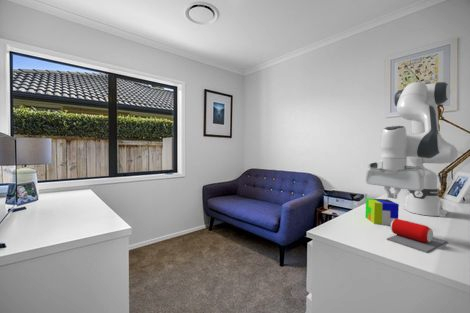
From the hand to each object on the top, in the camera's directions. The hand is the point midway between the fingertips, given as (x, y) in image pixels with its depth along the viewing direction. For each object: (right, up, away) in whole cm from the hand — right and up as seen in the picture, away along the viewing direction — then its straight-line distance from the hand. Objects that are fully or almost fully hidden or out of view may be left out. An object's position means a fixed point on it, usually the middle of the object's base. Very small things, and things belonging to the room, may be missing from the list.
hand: (392, 197), depth 88 cm
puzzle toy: (+6, -15, +15) cm, 22 cm away
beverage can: (-1, -11, -1) cm, 11 cm away
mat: (+4, -15, -8) cm, 17 cm away
